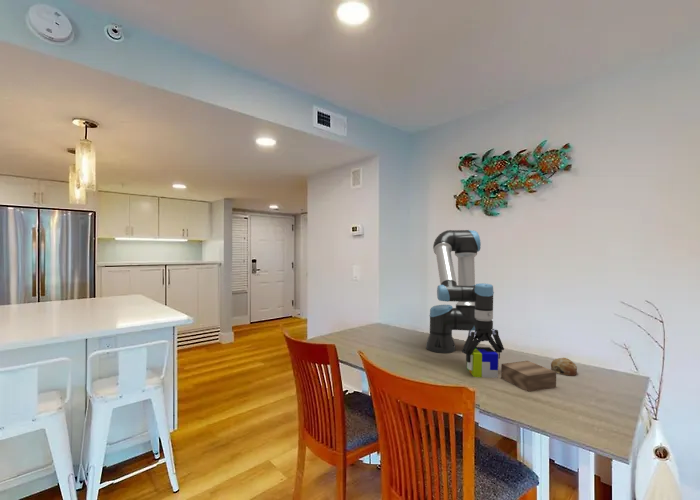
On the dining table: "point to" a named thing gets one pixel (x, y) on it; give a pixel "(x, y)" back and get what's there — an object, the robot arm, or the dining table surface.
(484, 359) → the puzzle toy
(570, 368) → the bread roll
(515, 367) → the walnut plinth
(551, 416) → the dining table surface
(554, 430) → the dining table surface
